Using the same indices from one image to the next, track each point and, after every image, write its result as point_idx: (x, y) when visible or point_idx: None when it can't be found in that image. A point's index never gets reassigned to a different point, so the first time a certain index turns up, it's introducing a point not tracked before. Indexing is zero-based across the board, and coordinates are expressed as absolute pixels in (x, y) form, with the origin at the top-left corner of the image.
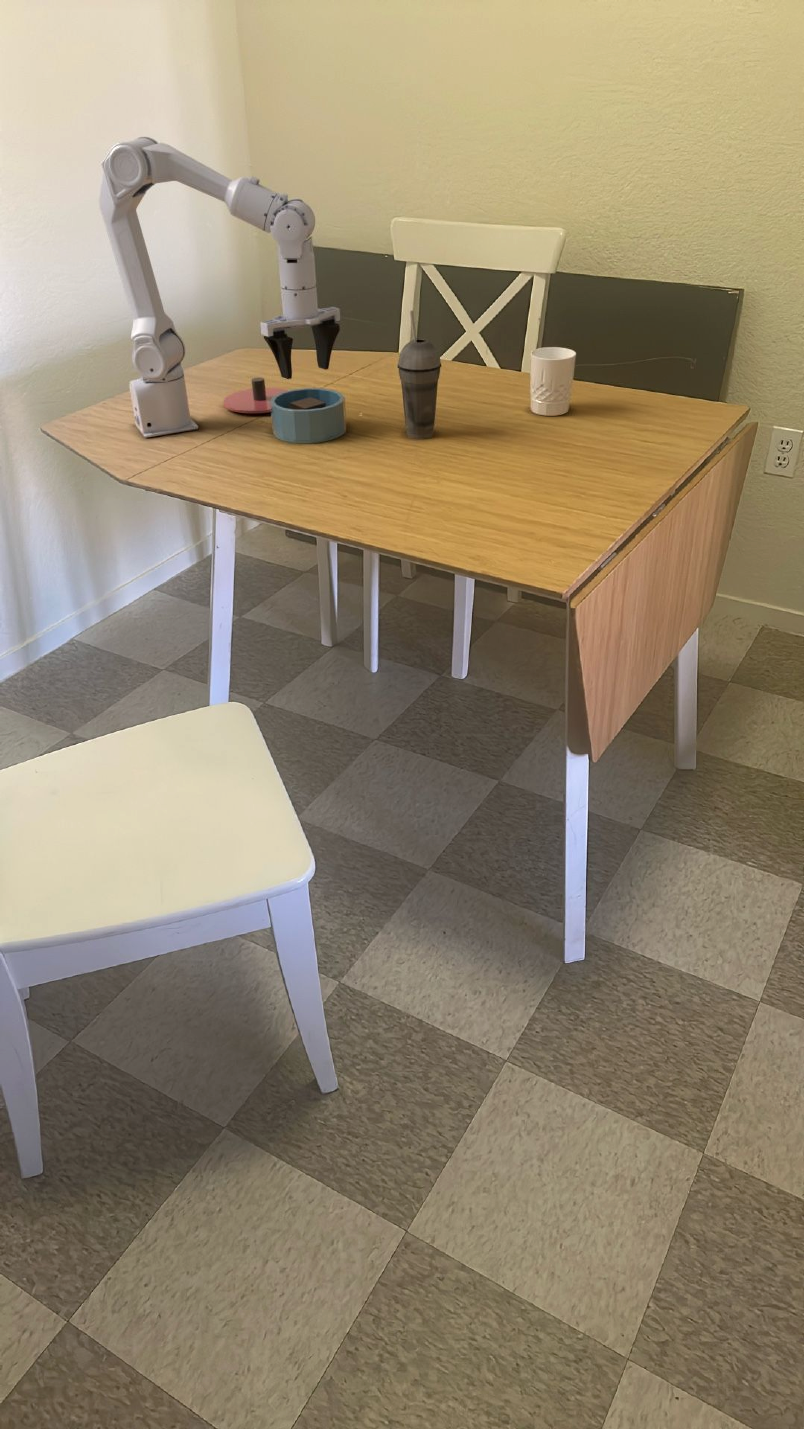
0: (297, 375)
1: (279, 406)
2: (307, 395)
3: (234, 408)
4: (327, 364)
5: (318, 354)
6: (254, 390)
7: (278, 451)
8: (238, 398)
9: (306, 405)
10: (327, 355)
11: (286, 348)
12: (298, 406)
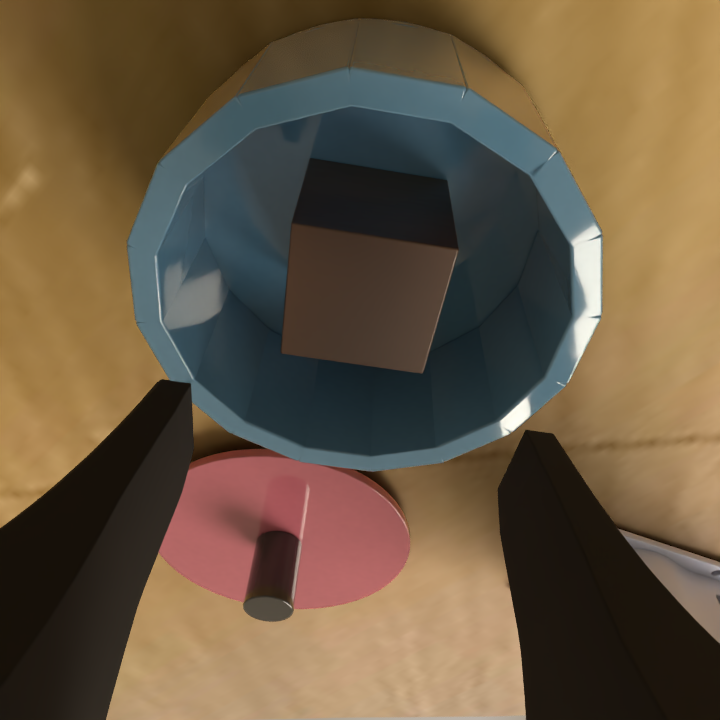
0: None
1: (564, 351)
2: (247, 396)
3: (407, 543)
4: (161, 402)
5: (159, 526)
6: (297, 576)
7: (703, 142)
8: (325, 580)
9: (409, 278)
10: (137, 455)
11: (706, 672)
12: (441, 306)
